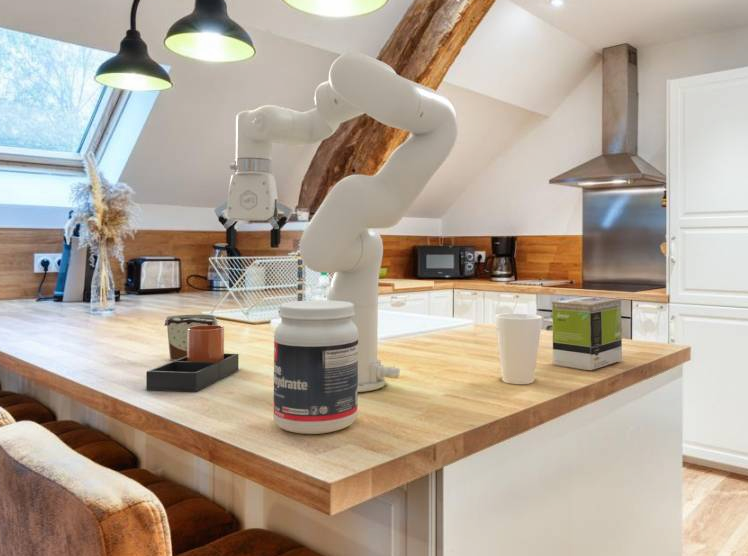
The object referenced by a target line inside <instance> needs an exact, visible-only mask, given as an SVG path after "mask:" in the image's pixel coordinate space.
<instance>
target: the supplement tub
mask: <svg viewBox="0 0 748 556" xmlns="http://www.w3.org/2000/svg"><path fill="white" fill-rule="evenodd" d="M354 315H355V313H354V304H353V303H350V302H344V301H329V299H327V300H325V299H324V300H316V299H315V300H295V301H287V302H283V303H281V304H279V313H278V316H279V317H280V318H281V322H280V323H279V324H278V325H277V326H276V328H275V330H274V334H273V404H272V405H273V410H272V411H273V413H272V417H273V421H274V422H275V424H276V425H277V426H278V427H279V428H280V429H282V430H284V431H287V432H291V433H296V434H301V435H321V434H327V433H333V432H337V431H340V430H343V429H345V428H348V427H350V426H351V425H352V424H353V423H354V422H355V421H356V420H357V417H358V404H359V403H358V402H359V400H358V397H359V395H358V393H359V392H358V336H359V334H358V329H357V327H356V325H355V324H354V323H353V322H352V316H354Z"/></svg>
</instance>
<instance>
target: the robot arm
mask: <svg viewBox="0 0 748 556" xmlns="http://www.w3.org/2000/svg"><path fill="white" fill-rule="evenodd" d="M314 104H315V108H314V107H313V108H312V109H310V110H307V111H303V112H302V111H298V110H294V109H291V108H288V107H287V108H286V107H282V106H279V105H273V104H266V105H262V106H259V107H258V108H257V107H256V109H253V110H242V111H240V112H238V113H237V115H236V117H235V118H236V119H235V120H236V121H235V159H234V162H233V163H230V164H229V169H230V171H234V173H235V174H234V173H233V174H231V176H230V181H229V185H228V186H229V187H228V195H227V202H224V203H223V204H221V205H219V206H217V207H215V208H214V213H215V215H216V218H217V219H218V222H219V223H220V224H221V225H222V226H223V228H224V230H225V243H226V244H227V248H237V246H238V245H237V242H238V241H237V236H238V235H237V233H238V232H237V229H236V228H235V227H236V226H237V225H238V223H240V221H246V222H247V221H248V222H249V221H251V222H252V221H253V222H255V221H257V222H258V221H259V222H263V221H264V222H265V221H266V222H268V223H269V224H270V225H271V227H272V228H271V229H270V248H272V249H278V248H279V245H280V244H281V237H282V236H281V234H282V233H281V230H282V229H283V228H284V226H285V225H286V224H287V223H288V222H289V220H290V218H291V216H292V214H293V211H294V210H293V208H291V207H289V206H287V205H286V204H283V203H281V202H280V201H279V200H278V199H279V198H278V188H277V182H276V178H275V175H273V174H272V163H273V162H272V160H273V159H272V157H273V156H272V153H273V146H272V144H273V143H274V144H282V145H286V146H287V145H288V146H291V147H298V148H299V147H301V148H302V147H307V146H310V145H314V144H316V143H319V142H322V141H325V140H327V139H329V138H330V137H332V136H333V135H334V134H335V133H336V131H337V130H338V129H339V128H340V126H341V124H342V123H345V122H348V121H351V120H352V119H355V118H357V117H359V116H362V115H364V114H366V115H367V116H369V117H370V118H372V119H374V120H375V121H377V122H379V123H380V124H383V125H385V126H387V127H390V128H393V129H398V130H400V131H401V130H402V131H405V132H409V133H411V134H410V136H409V137H408V139H407V140H405V141H404V142H402V143H401V144H399V146H397V147H396V148H395V149H394V150H393V151H392V152H391V153H390V155H389V156H388V158H387V159H386V161H385V162H384V163H383V165H382V166H381V167H380V169H379V170H378V171H377V172H376V173H375V174H373V175H368V174H360V173H359V174H350V175H348V176H345V177H343V178H342V179H340V180H339V181H338V182H336V184H334V185H333V186H332V188H331V189H330V191H329V192H328V193H327V195H326V196H325V198H324V199H323V201H322V202H321V204H320V205H319V207H318V208H317V210H316V211H315V213H314V214H313V216H312V217H311V219H310V220H309V222H308V224H306V226H305V228H304V230H303V233H302V235H301V237H300V240H299V257H300V259H301V261H302V263H303V264H304V265H305V266H306V268H307V269H310V270H311V271H313V272H315V273H321V274H322V273H323V274H324V273H325V274H326V273H327V274H328V273H333V277H332V278H331V282H330V285H329V290H328V301H344V302H350V303H353V304H354V313H355V315H354V316H352V322H353V323H354V324H355V325H356V327H357V329H358V334H359V336H358V393H364V392H365V393H366V392H372V391H375V390H379V389H381V388H383V387H384V386H385V385H386V379H385V378H387V379H399V378H400V375H401V374H400V370H401V369H400V368H399V367H396V366H384V364H382V359H378V327H379V325H378V322H379V321H378V317H379V315H378V313H379V312H378V311H379V307H378V305H379V280H380V272H381V267H382V262H383V256H384V243H383V239H382V237H381V235H380V233H379V232H378V230H379V229H380V230H381V229H384V230H385V229H390V228H392V227H395V226H396V225H398V224H399V223H400V222H401V220H402V219H403V218H404V216H405V215H406V214H407V213H408V211H409V209H410V208H411V206H412V205H413V204H414V203H415V201H416V200H417V199H418V198H419V196H420V194H421V193H422V192H423V191H424V189H425V187H426V186H427V184H428V182H429V181H430V180H431V179H432V178H433V176H434V175H435V174H436V173H437V172H438V170H439V169H440V168H441V166H442V165H443V164H444V162H445V161H446V160H447V158H448V157H449V155H450V154H451V152H452V151H453V148H454V147H455V144H456V141H457V137H458V132H459V124H458V123H459V122H458V116H457V113H456V110H455V108H454V106H453V104H452V102H450V100H449V99H448V98H447V97H446V96H445V95H444V94H442V93H441V92H440V91H437V90H436V89H433V88H431V87H429V86H426V85H423V84H421V83H418V82H415V81H413V80H410V79H408V78H406V77H403V76H402V75H400V74H397V72H396V70H394V68H393V67H391V65H389V64H388V63H386V62H384V61H381V60H379V59H377V58H374V57H373V56H370V55H368V54H365V53H362V52H360V51H359V52H358V51H348V52H345V53H343V54H341V55H339V56H337V58H336V59H335V60H334V61H333V62H332V64H331V65H330V68H329V72H328V80H327V81H323V82H321V83H319V84H318V86H317V87H316V89H315V91H314ZM279 210H280V211H281V212H283V214H282V217H280V218H279V219H278V216H279ZM225 212H226V214H227V217H226V216H225ZM377 229H378V230H377Z"/></svg>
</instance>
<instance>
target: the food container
mask: <svg viewBox="0 0 748 556" xmlns="http://www.w3.org/2000/svg"><path fill="white" fill-rule="evenodd" d="M202 325H218V326H219V321H218V319H217V317H216V315H212V314H177V315H170V316H166V319H165V320H164V327H166V329H167V340H168V341H167V342H168V350H169V361H170V362H172V361H175V360H177V359H180V358H183V357H185V356H187V328H189V327H193V326H202Z"/></svg>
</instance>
